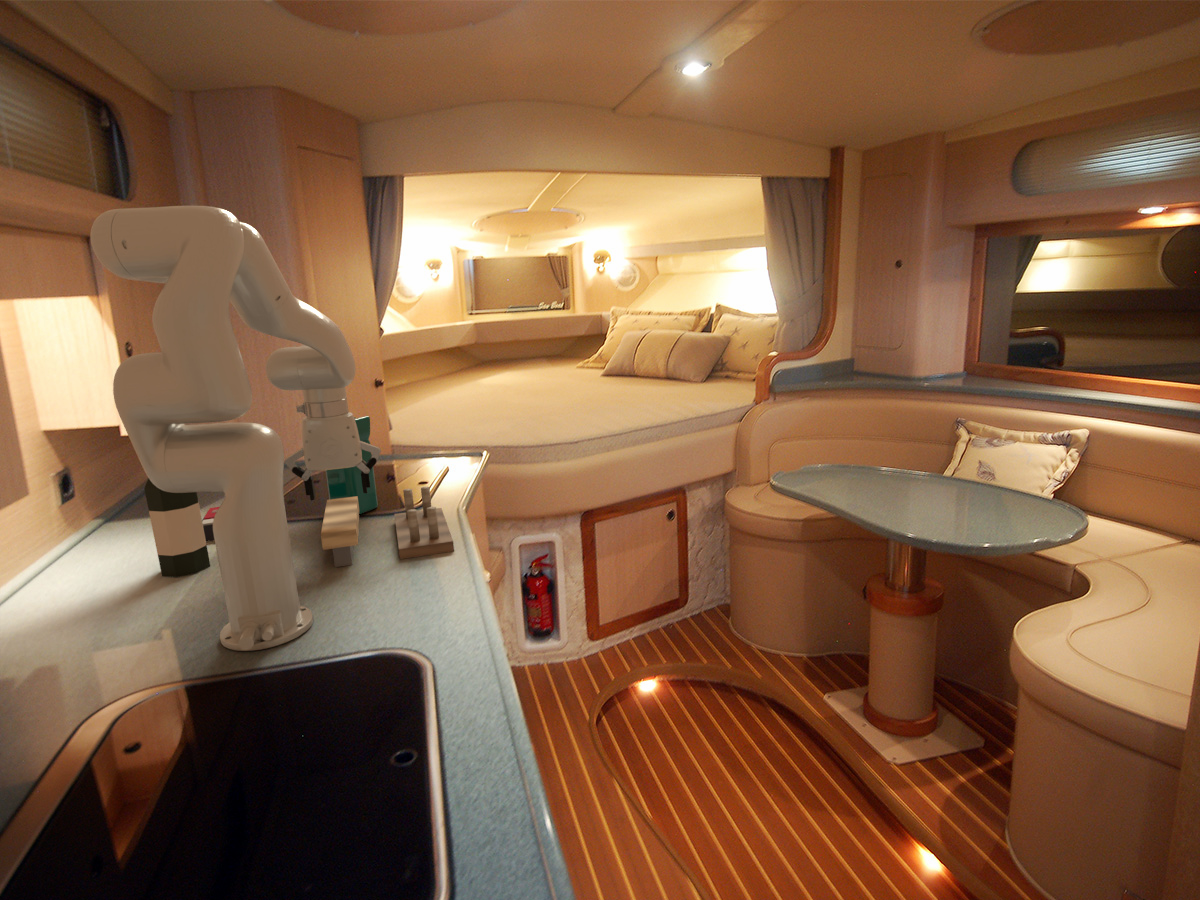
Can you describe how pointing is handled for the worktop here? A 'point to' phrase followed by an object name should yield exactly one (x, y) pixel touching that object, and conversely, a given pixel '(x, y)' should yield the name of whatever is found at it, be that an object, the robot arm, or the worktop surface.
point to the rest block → (343, 556)
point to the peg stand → (422, 528)
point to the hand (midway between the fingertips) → (339, 494)
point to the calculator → (209, 523)
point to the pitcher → (354, 475)
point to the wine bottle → (177, 531)
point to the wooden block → (340, 523)
